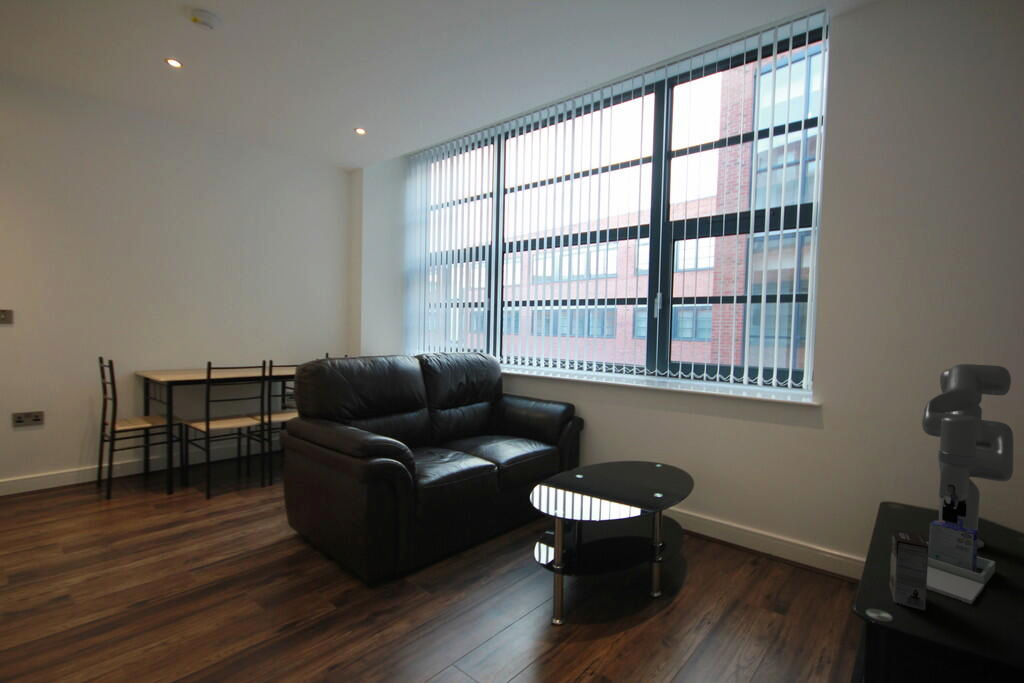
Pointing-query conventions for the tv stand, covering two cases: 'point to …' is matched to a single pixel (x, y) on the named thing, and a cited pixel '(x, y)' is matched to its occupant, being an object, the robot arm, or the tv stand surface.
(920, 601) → the coffee box
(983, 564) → the frame
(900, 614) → the tv stand surface
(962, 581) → the tile
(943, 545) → the ink cartridge box
